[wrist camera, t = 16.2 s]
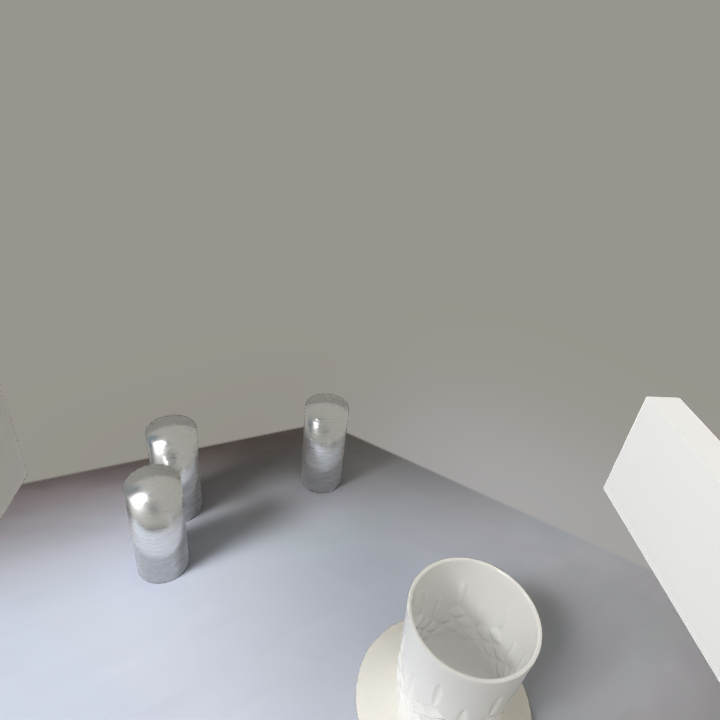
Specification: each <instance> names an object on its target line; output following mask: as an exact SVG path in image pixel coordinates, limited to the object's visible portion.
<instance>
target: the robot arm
mask: <svg viewBox="0 0 720 720" xmlns="http://www.w3.org/2000/svg"><path fill="white" fill-rule="evenodd" d="M26 476H27V471H26V468H25V464H24V461H23V458H22V455H21V451H20V448H19V445H18V441H17V438H16V435H15V432H14V428H13V425H12V422H11V418H10V415H9V412H8V409H7V405H6V402H5V399H4V395H3V392H2V389H1V385H0V519H1V517H2V516H3V514H4V512H5V511H6V509H7V508H8V506H9V504H10V503H11V501H12V499H13V498H14V496H15V494H16V493H17V491H18V490H19V488H20V486H21V485H22V483H23V481H24V480H25V478H26ZM604 490H605V492H606V494H607V495H608V497H609V498H610V500H611V502H612V504H613V505H614V507H615V508H616V510H617V512H618V514H619V515H620V517H621V519H622V520H623V522H624V524H625V525H626V527H627V529H628V530H629V532H630V534H631V535H632V537H633V539H634V540H635V542H636V544H637V545H638V547H639V549H640V550H641V552H642V554H643V555H644V557H645V559H646V560H647V562H648V564H649V565H650V567H651V569H652V570H653V572H654V574H655V575H656V577H657V579H658V580H659V582H660V584H661V585H662V587H663V589H664V591H665V592H666V594H667V596H668V597H669V599H670V601H671V602H672V604H673V606H674V607H675V609H676V611H677V612H678V614H679V616H680V617H681V619H682V621H683V622H684V624H685V626H686V627H687V629H688V631H689V632H690V634H691V636H692V637H693V639H694V641H695V642H696V644H697V646H698V647H699V649H700V651H701V652H702V654H703V656H704V657H705V659H706V661H707V662H708V664H709V666H710V667H711V669H712V671H713V672H714V674H715V676H716V677H717V679H718V681H719V682H720V441H719V440H718V439H717V438H716V437H715V436H714V434H712V432H711V431H710V430H709V429H708V428H707V427H706V426H705V425H704V424H703V423H702V422H701V420H699V418H698V417H697V416H696V415H695V414H694V413H693V412H692V411H691V410H690V409H689V408H688V407H687V405H686V404H685V403H684V402H683V401H682V400H681V399H680V398H668V397H646V399H645V401H644V403H643V405H642V407H641V409H640V411H639V414H638V416H637V418H636V420H635V422H634V424H633V426H632V428H631V430H630V433H629V435H628V437H627V439H626V441H625V443H624V445H623V447H622V450H621V452H620V454H619V456H618V458H617V460H616V462H615V464H614V466H613V469H612V471H611V473H610V475H609V477H608V479H607V481H606V483H605V485H604Z"/></svg>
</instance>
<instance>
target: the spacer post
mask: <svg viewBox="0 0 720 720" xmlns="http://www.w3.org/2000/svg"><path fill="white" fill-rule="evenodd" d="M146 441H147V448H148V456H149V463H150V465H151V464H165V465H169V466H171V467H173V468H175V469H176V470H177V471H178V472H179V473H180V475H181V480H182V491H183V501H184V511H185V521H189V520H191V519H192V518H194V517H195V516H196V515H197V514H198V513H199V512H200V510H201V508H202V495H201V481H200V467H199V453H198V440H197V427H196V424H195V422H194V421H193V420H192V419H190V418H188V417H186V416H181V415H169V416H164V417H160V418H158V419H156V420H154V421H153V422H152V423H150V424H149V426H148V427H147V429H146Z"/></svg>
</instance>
